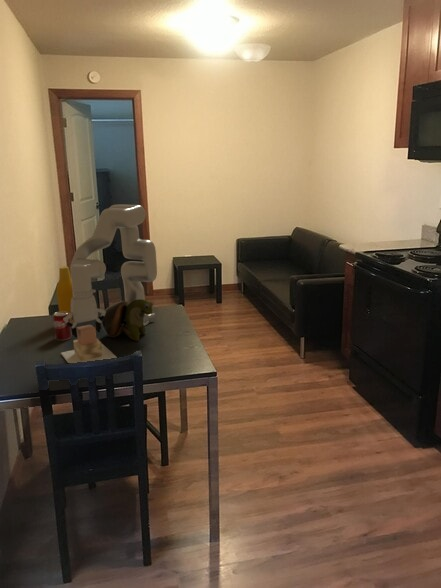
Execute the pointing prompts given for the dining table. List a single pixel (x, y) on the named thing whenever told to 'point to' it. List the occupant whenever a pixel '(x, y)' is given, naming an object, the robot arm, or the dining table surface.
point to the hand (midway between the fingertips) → (86, 333)
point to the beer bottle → (64, 290)
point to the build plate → (72, 358)
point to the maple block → (87, 350)
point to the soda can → (61, 326)
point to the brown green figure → (126, 318)
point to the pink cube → (86, 334)
